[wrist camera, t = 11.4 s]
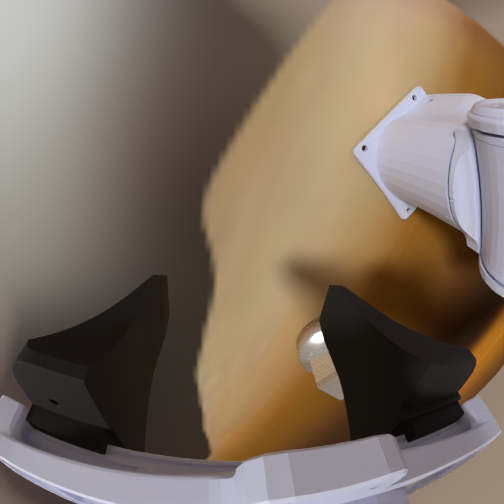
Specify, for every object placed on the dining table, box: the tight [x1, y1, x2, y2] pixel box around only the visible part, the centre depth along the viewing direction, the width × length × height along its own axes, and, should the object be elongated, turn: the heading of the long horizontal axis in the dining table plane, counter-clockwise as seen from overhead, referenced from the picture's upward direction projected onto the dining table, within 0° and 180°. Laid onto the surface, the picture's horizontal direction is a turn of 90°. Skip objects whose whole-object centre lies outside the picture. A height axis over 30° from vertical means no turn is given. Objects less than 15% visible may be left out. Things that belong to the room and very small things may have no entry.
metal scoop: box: [296, 317, 325, 373], centre depth 26 cm, size 18×7×4 cm, turn 47°
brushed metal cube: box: [308, 343, 344, 400], centre depth 23 cm, size 4×4×4 cm
